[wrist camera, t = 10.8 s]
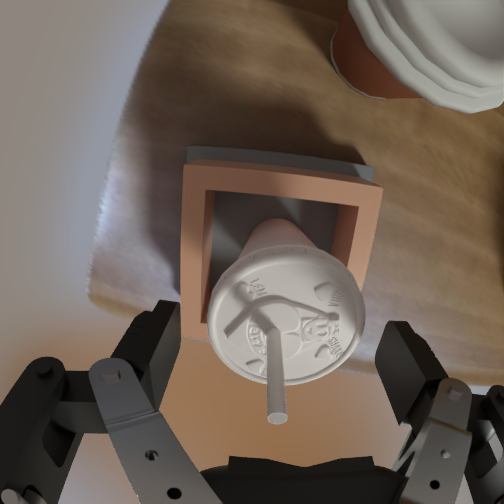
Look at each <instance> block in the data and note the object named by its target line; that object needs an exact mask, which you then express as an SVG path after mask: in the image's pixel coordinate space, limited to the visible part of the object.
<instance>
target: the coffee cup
mask: <svg viewBox="0 0 504 504" xmlns="http://www.w3.org/2000/svg"><path fill="white" fill-rule="evenodd" d="M330 52H331V61H332V63H333V65H334V67H335V70H336V72H337V74H338V76H339V77H340V78H341V79H342V80H343V81H344V82H345V83H346V84H347V85H348V86H349V87H350V88H351V89H353V90H355V91H356V92H358V93H360V94H362V95H364V96H366V97H370V98H377V99H391V98H423V99H425V100H426V101H428V102H429V103H430V104H432V105H435V106H439V107H443V108H447V109H451V110H455V111H458V112H462V113H475V112H479V111H483V110H488V109H492V108H496V107H499V106H500V105H501V104H502V103H503V101H504V0H348V7H347V9H346V11H345V13H344V16H343V18H342V20H341V22H340V24H339V26H338V28H337V29H336V31H335V33H334V35H333V38H332V40H331V42H330Z"/></svg>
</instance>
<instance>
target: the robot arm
mask: <svg viewBox="0 0 504 504" xmlns="http://www.w3.org/2000/svg"><path fill="white" fill-rule="evenodd" d="M180 343H181V317H180V303H179V302H173V301H166V300H159V301H158V303H157V305H156V306H155V308H154V310H153V312H150V311H144V312H142V313H141V314H139V315H138V316H136V317H135V318H134V320H133V321H132V323H131V324H130V327H129V328H128V329H127V331H126V333H125V334H124V336H123V338H122V339H121V340H120V342H119V344H118V346H117V347H116V349H115V350H114V352H113V354H112V355H111V357H110V358H105V359H102V360H99V361H97V362H96V363H94V364H93V365H92V366H91V368H90V370H89V371H65V368H64V365H63V363H62V362H61V361H60V360H58V359H56V358H54V357H41V358H38V359H36V360H34V361H32V362H31V363H30V364H29V365H28V366H27V367H26V369H25V370H24V372H23V373H22V374H21V376H20V377H19V379H18V380H17V382H16V383H15V384H14V386H13V387H12V389H11V390H10V392H9V393H8V395H7V396H6V398H5V399H4V401H3V402H2V404H1V405H0V504H58V501H59V498H60V495H61V492H62V489H63V487H64V484H65V481H66V478H67V476H68V473H69V470H70V468H71V465H72V462H73V460H74V457H75V454H76V452H77V450H78V447H79V445H80V442H81V440H82V437H83V435H84V433H108V434H109V436H110V439H111V441H112V443H113V446H114V448H115V450H116V453H117V455H118V457H119V460H120V462H121V464H122V466H123V468H124V471H125V473H126V475H127V477H128V479H129V481H130V483H131V485H132V487H133V489H134V491H135V493H136V495H137V497H138V499H139V500H140V502H141V504H455V501H456V498H457V495H458V492H459V488H460V485H461V481H462V478H463V474H465V477H466V480H467V483H468V486H469V489H470V493H471V496H472V499H473V502H474V504H504V386H501V385H494V386H492V387H491V388H490V389H489V391H488V392H487V394H486V395H478V394H472V392H471V390H470V388H469V387H468V386H467V385H466V384H465V383H464V382H462V381H461V380H458V379H455V378H449V377H448V375H447V373H446V372H445V370H444V369H443V367H442V365H441V364H440V362H439V361H438V359H437V358H436V357H435V354H434V353H433V351H431V348H430V347H429V345H428V344H427V342H426V341H425V340H424V339H423V338H422V337H420V336H419V335H418V334H417V333H415V332H414V331H413V329H412V328H411V326H410V325H409V323H408V322H407V321H388V322H387V324H386V326H385V329H384V332H383V335H382V337H381V340H380V343H379V346H378V348H377V351H376V355H375V365H376V368H377V371H378V373H379V376H380V378H381V381H382V383H383V386H384V388H385V391H386V393H387V396H388V398H389V401H390V403H391V406H392V409H393V411H394V414H395V416H396V419H397V422H398V425H399V426H405V425H411V426H412V429H411V430H410V432H409V434H408V436H407V438H406V440H405V442H404V445H403V447H402V449H401V451H400V453H399V455H398V457H397V459H396V461H395V463H394V465H393V467H392V469H388V468H385V467H381V466H375V465H374V462H373V458H372V456H368V457H355V458H341V459H337V460H333V461H330V462H325V463H322V464H318V465H313V466H309V467H300V466H295V465H290V464H286V463H282V462H278V461H273V460H270V459H262V458H247V457H236V456H229V464H228V465H225V466H218V467H213V468H209V469H206V470H203V471H201V472H199V471H198V469H197V468H196V467H195V465H194V464H193V462H192V461H191V459H190V458H189V456H188V455H187V453H186V452H185V450H184V449H183V447H182V446H181V444H180V442H179V441H178V439H177V438H176V436H175V435H174V433H173V431H172V430H171V428H170V427H169V425H168V423H167V422H166V420H165V418H164V417H163V415H162V413H161V412H160V411H159V407H160V404H161V401H162V398H163V395H164V392H165V390H166V387H167V384H168V381H169V378H170V375H171V372H172V370H173V367H174V364H175V361H176V358H177V356H178V353H179V349H180ZM495 433H496V434H497V436H498V439H499V441H500V442H501V445H502V447H503V455H502V458H501V459H500V461H499V462H497V460H496V458H495V456H494V453H493V451H492V448H491V446H490V444H489V442H488V441H489V440H490V439H491V438H492V437H493V435H494V434H495Z"/></svg>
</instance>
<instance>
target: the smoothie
mask: <svg viewBox="0 0 504 504" xmlns="http://www.w3.org/2000/svg"><path fill="white" fill-rule="evenodd" d="M365 314H366V312H365V305H364V300H363V297H362V295H361V292H360V290H359V287H358V285H357V283H356V280H355V278H354V276H353V274H352V273H351V272H350V271H349V270H348V269H347V268H346V267H345V265H344V264H343V263H342V262H341V261H340V260H338V259H337V258H335V257H333V256H332V255H330V254H328V253H327V252H325V251H323V250H320V249H318V248H317V247H316V246H315V245H314V244H313V243H312V241H311V240H310V239H309V238H308V237H307V236H306V235H305V234H304V233H303V232H302V231H301V230H300V229H299V228H298V227H297V226H296V225H295V224H293V223H292V222H290V221H288V220H285V219H280V218H275V219H269V220H266V221H264V222H262V223H260V224H259V225H258V226H257V227H256V228H255V229H254V230H253V232H252V234H251V236H250V237H249V239H248V241H247V243H246V245H245V247H244V248H243V250H242V252H241V254H240V256H239V258H238V260H237V261H236V262H235V263H233V264H232V265H231V266H230V267H229V268H228V269H227V270H226V271H225V272H224V273H223V274H222V275H221V277H220V279H219V280H218V282H217V284H216V285H215V287H214V289H213V291H212V295H211V299H210V303H209V307H208V314H207V331H208V336H209V340H210V342H211V345H212V347H213V349H214V351H215V352H216V354H217V355H218V356H219V358H220V359H221V360H222V361H223V362H224V363H225V364H226V365H227V366H228V367H229V368H230V369H232V370H233V371H235V372H236V373H238V374H239V375H241V376H243V377H245V378H247V379H250V380H253V381H256V382H259V383H263V384H267V399H268V400H267V403H268V421H269V422H270V423H273V424H281V423H284V422H285V421H286V420H287V404H286V391H285V385H295V384H300V383H306V382H308V381H312V380H315V379H318V378H320V377H322V376H324V375H326V374H327V373H330V372H331V371H333V370H334V369H336V368H337V367H338V366H340V365H341V364H342V363H343V362H344V361H345V360H346V359H347V358H348V357H349V356H350V355H351V353H352V352H353V351H354V349H355V348H356V346H357V345H358V343H359V341H360V339H361V336H362V333H363V330H364V326H365Z"/></svg>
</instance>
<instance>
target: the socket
mask: <svg viewBox="0 0 504 504" xmlns="http://www.w3.org/2000/svg"><path fill="white" fill-rule="evenodd" d="M373 171H374V167H371V166H368V165H364V164H358V163H353V162H347V161H341V160H334V159H328V158H321V157H314V156H307V155H299V154H291V153H283V152H274V151H265V150H255V149H244V148H231V147H217V146H201V145H189V146H187V156H186V164H184V168H183V188H182V213H181V265H180V285H181V336H183V337H191V338H199V339H207V340H209V336H208V331H207V314H208V307H209V303H210V299H211V295H212V291H213V289H214V287H215V285H216V284H217V282H218V280H219V279H220V277H221V275H222V274H223V273H224V272H225V271H226V270H227V269H228V268H229V267H230V266H231V265H232V264H233V263H235V262H236V261H237V260H238V258H239V256H240V254H241V252H242V250H243V248H244V247H245V245H246V243H247V241H248V239H249V237H250V236H251V234H252V232H253V230H254V229H255V228H256V227H257V226H258V225H259V224H260V223H262V222H264V221H266V220H269V219H275V218H280V219H285V220H288V221H290V222H292V223H293V224H295V225H296V226H297V227H298V228H299V229H300V230H301V231H302V232H303V233H304V234H305V235H306V236H307V237H308V238H309V239H310V240H311V241H312V243H313V244H314V245H315V246H316V247H317V248H318V249H320V250H323V251H325V252H327V253H328V254H330V255H332V256H333V257H335V258H337V259H338V260H340V261H341V262H342V263H343V264H344V265H345V267H346V268H347V269H348V270H349V271H350V272H351V273H352V274H353V276H354V278H355V280H356V283H357V285H358V287H359V290H360V292H361V290H362V286H363V282H364V278H365V274H366V270H367V266H368V262H369V257H370V253H371V249H372V244H373V240H374V235H375V230H376V225H377V220H378V215H379V210H380V205H381V199H382V193H383V187H381V186H379V185H377V184H375V183H372V178H373Z"/></svg>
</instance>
